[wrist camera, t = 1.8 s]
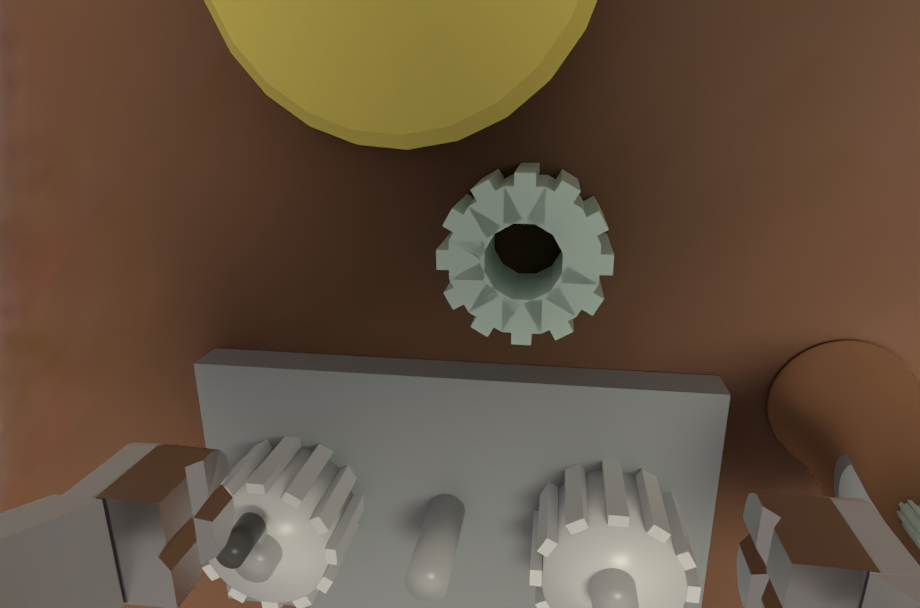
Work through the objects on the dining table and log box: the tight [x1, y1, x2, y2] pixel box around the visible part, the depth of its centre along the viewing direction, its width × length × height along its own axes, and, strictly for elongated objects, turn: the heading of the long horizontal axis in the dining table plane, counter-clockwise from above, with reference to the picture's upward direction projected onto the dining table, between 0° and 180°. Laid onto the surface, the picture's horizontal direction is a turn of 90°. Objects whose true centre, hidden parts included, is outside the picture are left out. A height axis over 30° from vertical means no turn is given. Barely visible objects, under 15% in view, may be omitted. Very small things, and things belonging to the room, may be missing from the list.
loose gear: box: [436, 163, 614, 345], centre depth 26 cm, size 7×7×4 cm
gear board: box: [193, 348, 731, 608], centre depth 28 cm, size 25×14×9 cm, turn 90°
